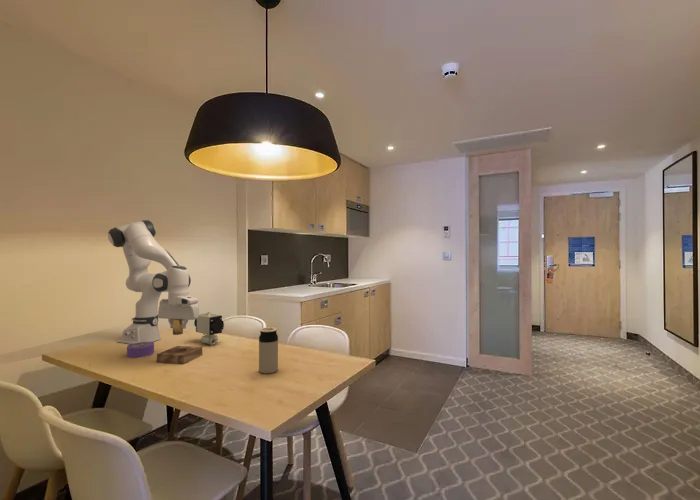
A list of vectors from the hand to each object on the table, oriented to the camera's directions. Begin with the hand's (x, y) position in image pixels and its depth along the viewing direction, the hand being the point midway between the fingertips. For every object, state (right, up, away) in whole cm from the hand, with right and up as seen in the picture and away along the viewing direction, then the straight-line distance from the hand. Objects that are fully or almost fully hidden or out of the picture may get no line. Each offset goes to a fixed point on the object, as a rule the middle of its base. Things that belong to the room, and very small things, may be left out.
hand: (178, 328), depth 162 cm
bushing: (0, -3, 0) cm, 3 cm away
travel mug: (+47, -15, -16) cm, 52 cm away
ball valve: (+4, -15, +28) cm, 32 cm away
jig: (+1, -15, +1) cm, 15 cm away
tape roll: (-23, -15, +8) cm, 29 cm away
